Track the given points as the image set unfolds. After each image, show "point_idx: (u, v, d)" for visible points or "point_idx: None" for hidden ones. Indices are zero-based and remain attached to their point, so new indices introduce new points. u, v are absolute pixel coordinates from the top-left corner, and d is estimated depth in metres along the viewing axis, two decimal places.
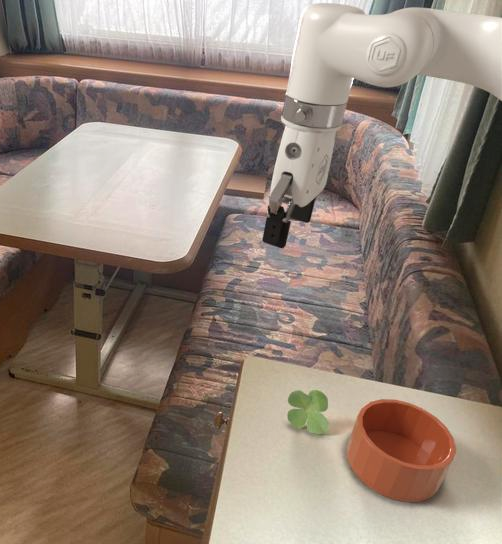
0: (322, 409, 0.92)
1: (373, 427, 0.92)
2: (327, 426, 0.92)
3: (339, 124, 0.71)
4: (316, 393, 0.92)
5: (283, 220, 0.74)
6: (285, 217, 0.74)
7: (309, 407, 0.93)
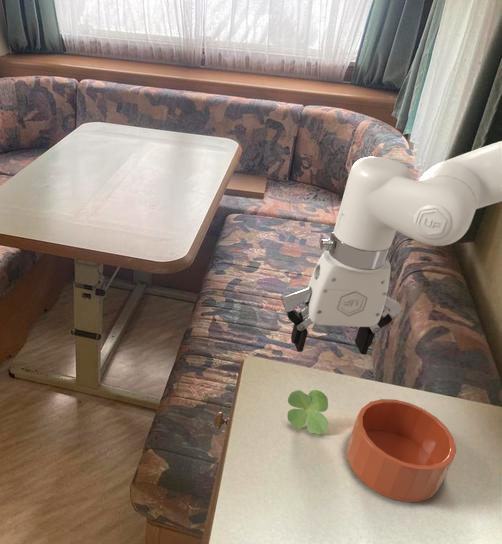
0: (322, 409, 0.92)
1: (373, 427, 0.92)
2: (327, 426, 0.92)
3: (362, 267, 0.75)
4: (316, 393, 0.92)
5: (296, 326, 0.84)
6: (298, 324, 0.83)
7: (309, 407, 0.93)
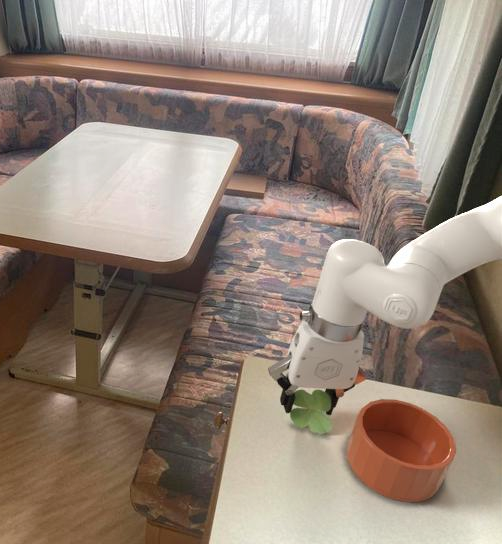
0: (325, 409, 0.92)
1: (373, 427, 0.92)
2: (330, 426, 0.92)
3: (338, 340, 0.82)
4: (319, 393, 0.92)
5: (285, 391, 0.91)
6: (286, 390, 0.90)
7: (312, 406, 0.93)
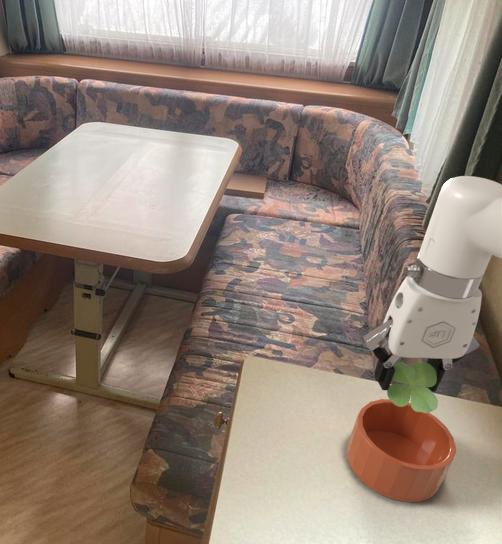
0: (429, 384, 0.79)
1: (373, 427, 0.92)
2: (436, 403, 0.78)
3: (454, 296, 0.69)
4: (421, 365, 0.79)
5: (383, 364, 0.78)
6: (384, 362, 0.78)
7: (413, 381, 0.80)
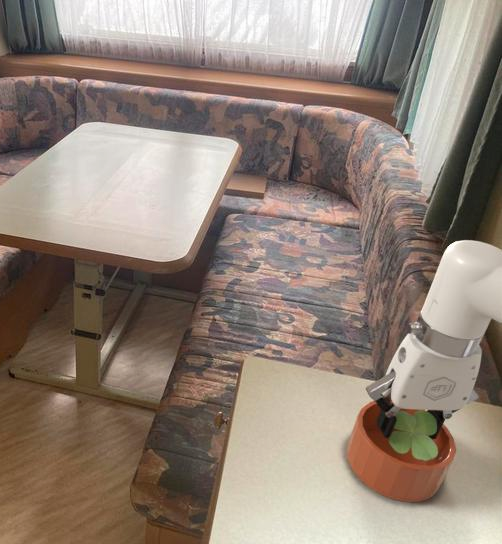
0: (430, 432, 0.82)
1: (373, 427, 0.92)
2: (436, 451, 0.81)
3: (455, 355, 0.71)
4: (422, 414, 0.82)
5: (385, 413, 0.80)
6: (386, 412, 0.80)
7: (414, 429, 0.82)
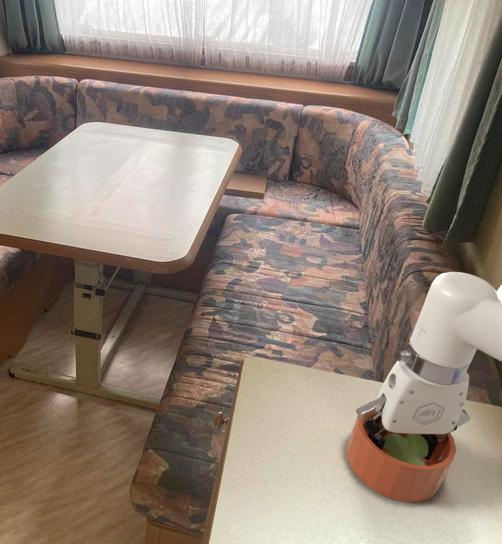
0: (421, 455, 0.84)
1: None
2: None
3: (443, 383, 0.74)
4: (414, 437, 0.84)
5: (374, 435, 0.83)
6: (375, 434, 0.82)
7: (406, 451, 0.85)
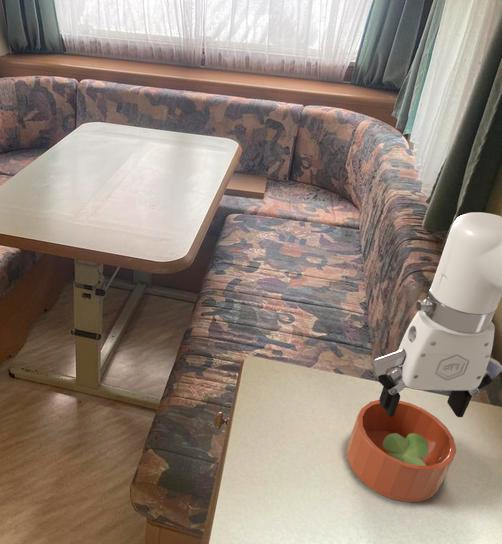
0: (421, 455, 0.84)
1: (373, 427, 0.92)
2: None
3: (467, 331, 0.69)
4: (414, 437, 0.84)
5: (388, 390, 0.78)
6: (390, 388, 0.77)
7: (406, 451, 0.85)
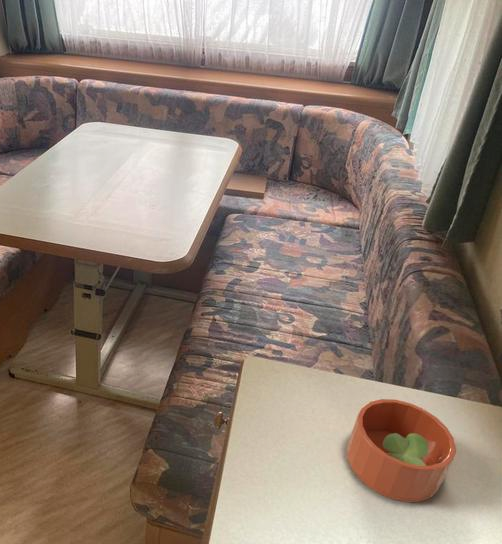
0: (421, 455, 0.84)
1: (373, 427, 0.92)
2: None
3: None
4: (414, 437, 0.84)
5: None
6: None
7: (406, 451, 0.85)
